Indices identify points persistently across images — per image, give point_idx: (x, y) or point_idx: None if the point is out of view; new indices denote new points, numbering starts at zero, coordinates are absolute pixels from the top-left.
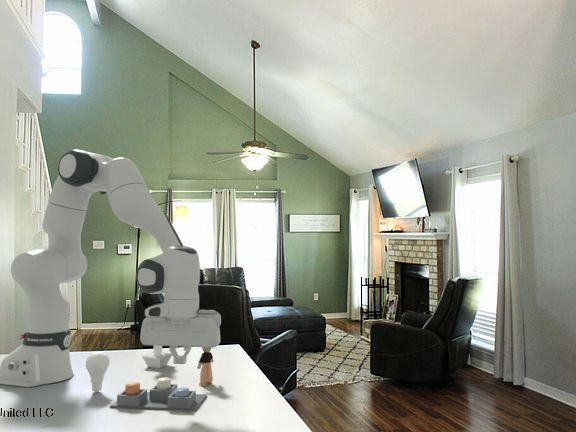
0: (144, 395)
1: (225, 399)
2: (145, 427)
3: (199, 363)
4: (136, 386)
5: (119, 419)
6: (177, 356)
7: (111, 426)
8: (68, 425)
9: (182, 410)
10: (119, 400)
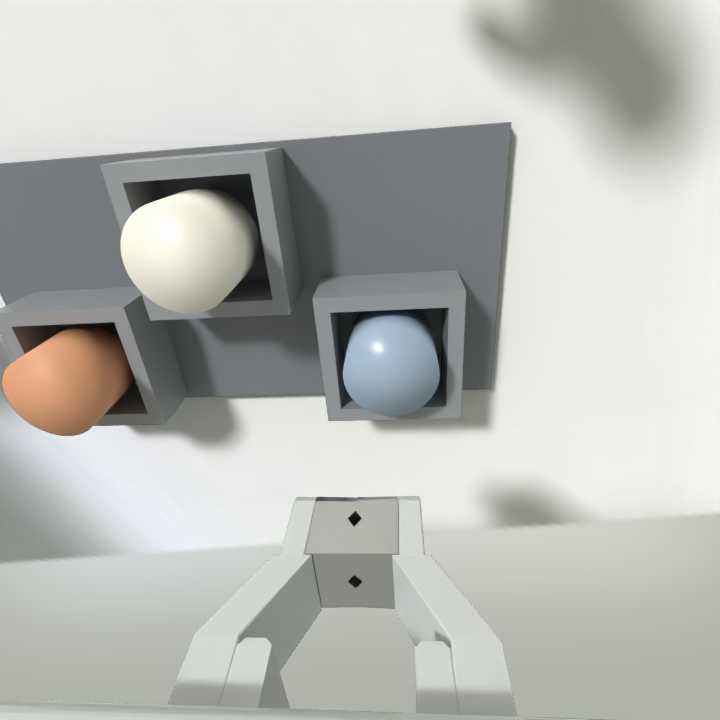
0: (150, 338)
1: (657, 164)
2: None
3: None
4: (98, 418)
5: (197, 493)
6: (325, 587)
7: (213, 542)
8: (71, 546)
9: None
10: None
